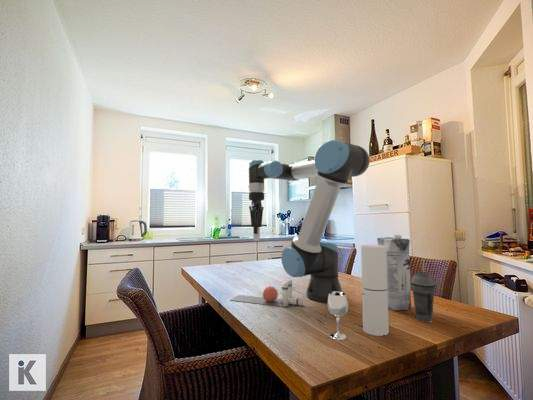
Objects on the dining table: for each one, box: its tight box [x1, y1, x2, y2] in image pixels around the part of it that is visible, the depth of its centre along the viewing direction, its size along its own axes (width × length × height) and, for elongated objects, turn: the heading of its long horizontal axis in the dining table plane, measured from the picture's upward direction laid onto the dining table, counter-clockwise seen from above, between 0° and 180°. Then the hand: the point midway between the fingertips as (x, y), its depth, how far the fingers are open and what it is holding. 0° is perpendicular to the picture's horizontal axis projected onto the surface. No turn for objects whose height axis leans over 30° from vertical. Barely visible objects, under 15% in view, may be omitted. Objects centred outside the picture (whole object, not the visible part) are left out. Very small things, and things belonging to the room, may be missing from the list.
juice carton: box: [376, 234, 412, 312], centre depth 105 cm, size 9×10×27 cm
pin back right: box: [285, 279, 293, 298], centre depth 111 cm, size 2×2×8 cm
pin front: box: [280, 296, 304, 306], centre depth 107 cm, size 2×2×8 cm
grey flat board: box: [230, 294, 290, 308], centre depth 112 cm, size 24×8×1 cm, turn 69°
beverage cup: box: [410, 258, 437, 323], centre depth 92 cm, size 7×7×20 cm
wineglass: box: [326, 291, 349, 341], centre depth 79 cm, size 6×6×12 cm
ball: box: [262, 286, 279, 302], centre depth 111 cm, size 6×6×6 cm
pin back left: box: [281, 282, 289, 308], centre depth 106 cm, size 2×2×8 cm
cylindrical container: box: [360, 244, 390, 337], centre depth 83 cm, size 7×7×25 cm
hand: (256, 240), depth 134 cm, fingers closed
